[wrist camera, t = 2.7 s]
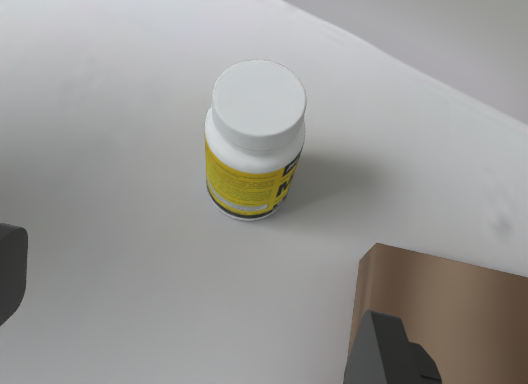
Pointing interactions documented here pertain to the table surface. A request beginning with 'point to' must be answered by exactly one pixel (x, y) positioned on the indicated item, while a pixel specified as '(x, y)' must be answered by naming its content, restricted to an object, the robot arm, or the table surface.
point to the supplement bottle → (253, 138)
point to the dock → (450, 312)
